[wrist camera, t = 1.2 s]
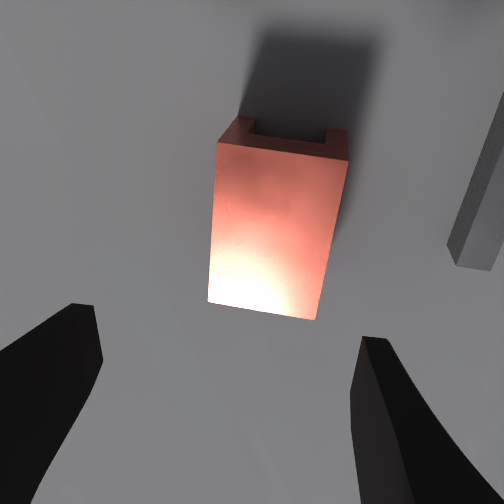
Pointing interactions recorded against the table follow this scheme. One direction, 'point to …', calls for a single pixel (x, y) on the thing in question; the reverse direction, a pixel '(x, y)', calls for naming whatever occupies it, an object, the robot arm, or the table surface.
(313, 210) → the red notched block
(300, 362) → the table surface
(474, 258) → the coupler
